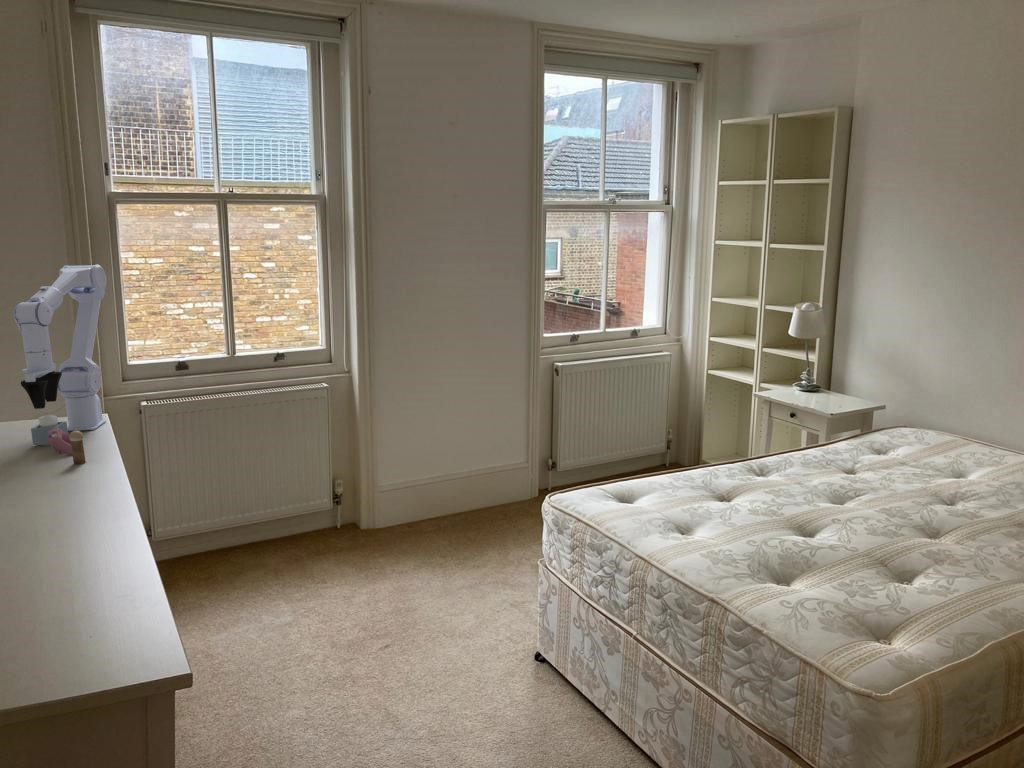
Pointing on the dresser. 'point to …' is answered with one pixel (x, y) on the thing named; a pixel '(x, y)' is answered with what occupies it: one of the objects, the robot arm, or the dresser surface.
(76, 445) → the post
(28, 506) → the dresser surface
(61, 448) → the video game controller
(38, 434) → the hollow square tube
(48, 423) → the dome
